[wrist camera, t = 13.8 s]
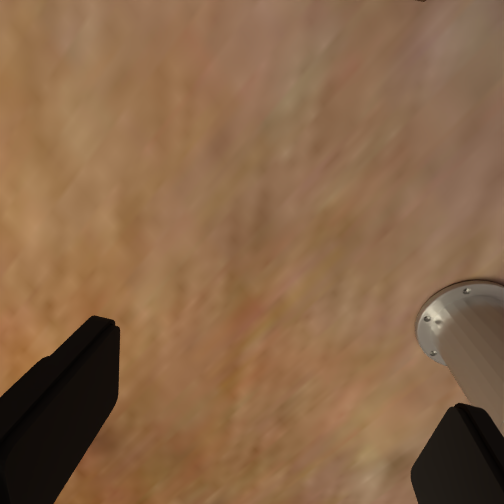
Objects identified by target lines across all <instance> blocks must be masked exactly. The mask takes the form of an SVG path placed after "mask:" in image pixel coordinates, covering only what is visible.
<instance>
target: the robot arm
mask: <svg viewBox="0 0 504 504" xmlns="http://www.w3.org/2000/svg"><path fill="white" fill-rule="evenodd" d="M415 334H416V339H417V341H418V343H419V345H420V347H421V348H422V350H423V351H424V353H425V354H426V355H427V356H428V357H429V358H431V359H432V360H434V361H435V362H437V363H440V364H442V365H445V366H447V367H448V368H449V370H450V372H451V373H452V375H453V376H454V378H455V380H456V381H457V383H458V384H459V386H460V388H461V389H462V391H463V393H464V394H465V396H466V397H467V399H468V401H469V402H470V404H471V405H467V404H463V403H458V404H456V405H455V406H454V407H450V408H449V409H448V410H447V412H446V413H445V415H444V416H443V418H442V420H441V421H440V423H439V425H438V426H437V428H436V429H435V431H434V433H433V434H432V436H431V438H430V439H429V441H428V442H427V444H426V446H425V447H424V449H423V450H422V452H421V454H420V455H419V457H418V459H417V460H416V462H415V463H414V465H413V467H412V469H411V482H412V485H413V488H414V491H415V495H416V498H417V501H418V504H504V286H502V285H500V284H498V283H494V282H489V281H478V280H475V281H466V282H461V283H457V284H454V285H452V286H449V287H447V288H444V289H443V290H441V291H439V292H438V293H436V294H435V295H434V296H432V297H431V298H430V299H429V300H428V301H427V302H426V303H425V304H424V305H423V307H422V308H421V310H420V312H419V314H418V315H417V319H416V322H415ZM119 351H120V328H119V327H118V326H115V321H114V320H111V319H107V318H103V317H99V316H95V315H94V316H91V317H90V318H89V319H88V320H87V321H86V322H85V323H84V324H83V325H82V326H80V327H79V328H78V329H77V330H76V331H75V332H74V333H73V334H72V335H71V336H70V337H69V338H68V339H67V340H66V341H65V342H64V343H63V344H62V345H61V346H60V347H59V348H58V349H57V350H56V351H55V352H54V353H53V354H52V355H50V356H47V357H44V358H42V359H41V360H40V361H38V362H37V363H36V364H35V365H34V366H33V367H32V368H31V369H30V370H29V371H28V372H27V373H25V374H24V375H23V376H22V377H21V378H20V379H19V380H18V381H17V382H16V383H15V384H14V385H13V386H12V387H11V388H10V389H9V390H7V391H6V392H5V393H4V394H3V395H2V396H1V397H0V504H53V503H54V502H55V500H56V499H57V497H58V496H59V494H60V492H61V491H62V489H63V488H64V486H65V484H66V483H67V481H68V480H69V478H70V476H71V475H72V473H73V472H74V470H75V468H76V467H77V465H78V464H79V462H80V460H81V459H82V457H83V456H84V454H85V453H86V451H87V449H88V448H89V446H90V445H91V443H92V441H93V440H94V438H95V437H96V435H97V433H98V432H99V430H100V429H101V427H102V425H103V424H104V422H105V421H106V419H107V418H108V416H109V414H110V413H111V411H112V410H113V408H114V406H115V404H116V401H117V398H118V387H119Z"/></svg>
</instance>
